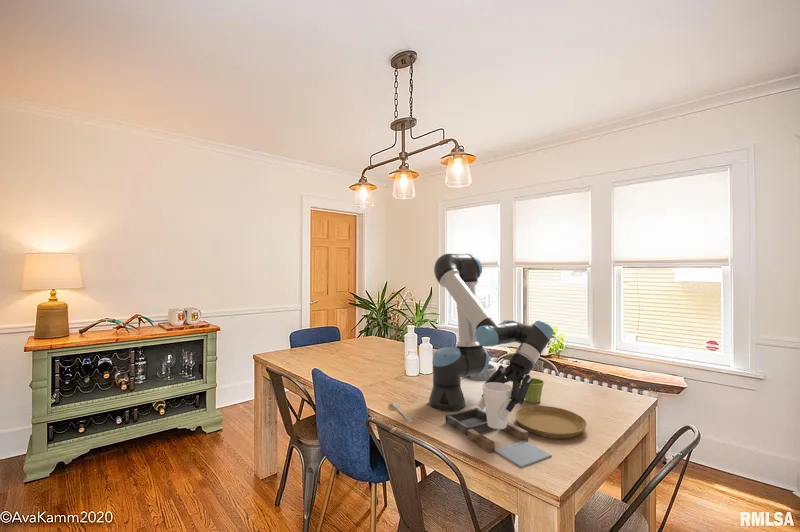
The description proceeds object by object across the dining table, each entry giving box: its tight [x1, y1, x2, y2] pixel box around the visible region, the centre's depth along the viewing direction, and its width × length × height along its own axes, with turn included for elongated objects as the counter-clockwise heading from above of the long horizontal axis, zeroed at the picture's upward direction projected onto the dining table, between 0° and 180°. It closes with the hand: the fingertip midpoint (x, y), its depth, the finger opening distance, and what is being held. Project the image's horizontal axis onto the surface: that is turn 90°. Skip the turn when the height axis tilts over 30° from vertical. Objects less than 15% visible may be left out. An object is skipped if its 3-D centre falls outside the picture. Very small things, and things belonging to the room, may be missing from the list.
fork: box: [388, 402, 415, 423], centre depth 148 cm, size 3×21×3 cm, turn 24°
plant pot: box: [521, 377, 545, 404], centre depth 160 cm, size 9×9×9 cm
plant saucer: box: [514, 405, 588, 440], centre depth 134 cm, size 24×24×3 cm
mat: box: [494, 440, 553, 468], centre depth 114 cm, size 11×13×1 cm
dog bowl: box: [469, 363, 497, 382], centre depth 198 cm, size 17×18×5 cm
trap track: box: [445, 407, 529, 454], centre depth 130 cm, size 25×17×3 cm
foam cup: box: [482, 382, 512, 430], centre depth 124 cm, size 10×9×13 cm
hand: (489, 412), depth 123 cm, fingers closed on foam cup, 9 cm apart
